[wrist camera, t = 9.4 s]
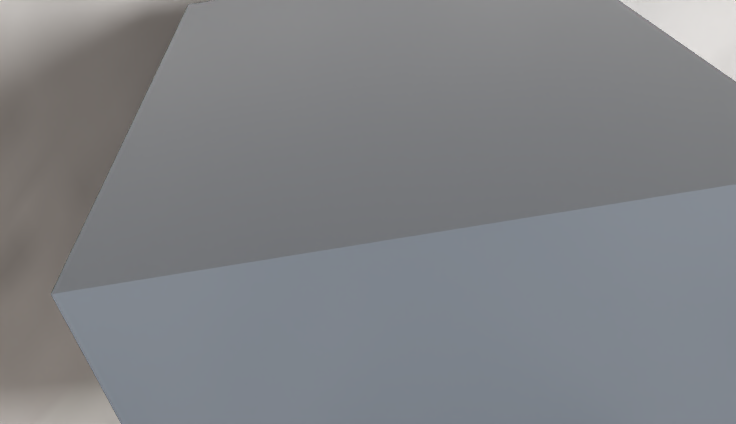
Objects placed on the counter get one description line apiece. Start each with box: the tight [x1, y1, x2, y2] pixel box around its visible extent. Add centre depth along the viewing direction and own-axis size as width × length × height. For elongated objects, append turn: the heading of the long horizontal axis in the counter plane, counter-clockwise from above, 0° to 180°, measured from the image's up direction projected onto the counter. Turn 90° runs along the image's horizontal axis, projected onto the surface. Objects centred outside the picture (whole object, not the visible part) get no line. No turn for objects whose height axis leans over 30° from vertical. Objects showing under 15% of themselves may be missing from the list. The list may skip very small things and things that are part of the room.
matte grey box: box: [51, 0, 736, 424], centre depth 13 cm, size 7×12×9 cm, turn 7°
